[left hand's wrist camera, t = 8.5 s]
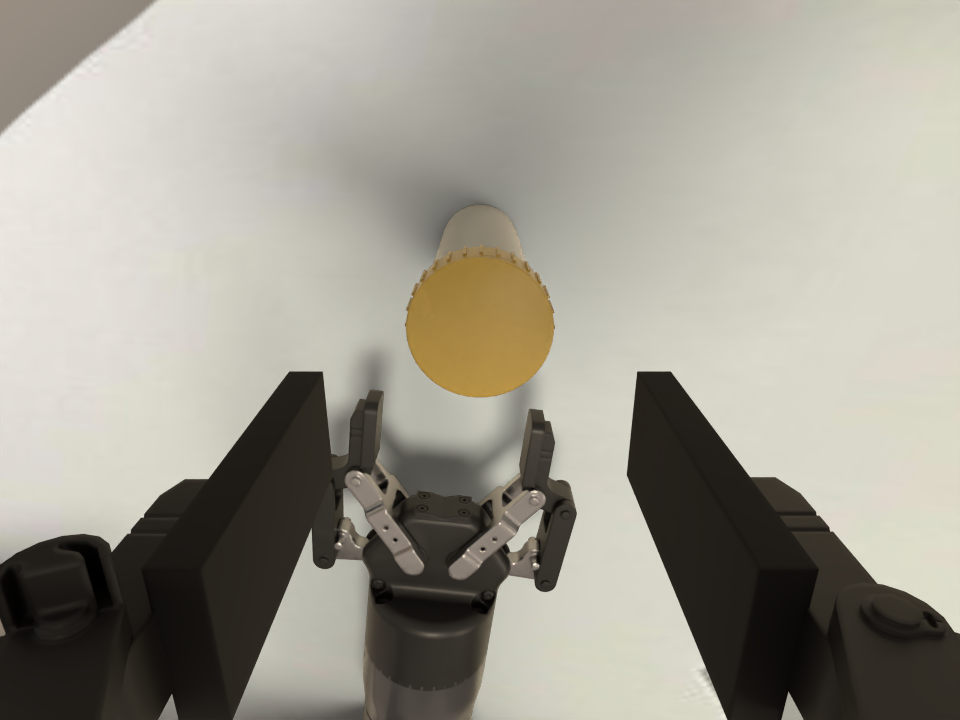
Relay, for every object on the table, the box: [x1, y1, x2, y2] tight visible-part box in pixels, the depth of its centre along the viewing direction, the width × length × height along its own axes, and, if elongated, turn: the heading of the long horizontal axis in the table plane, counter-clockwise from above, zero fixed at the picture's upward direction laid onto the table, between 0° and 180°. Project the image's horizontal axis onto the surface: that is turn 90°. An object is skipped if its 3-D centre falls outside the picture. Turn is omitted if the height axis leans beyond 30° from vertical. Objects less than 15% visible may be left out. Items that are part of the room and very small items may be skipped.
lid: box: [405, 245, 555, 397], centre depth 22 cm, size 5×5×2 cm
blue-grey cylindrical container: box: [435, 205, 525, 262], centre depth 28 cm, size 4×4×15 cm
